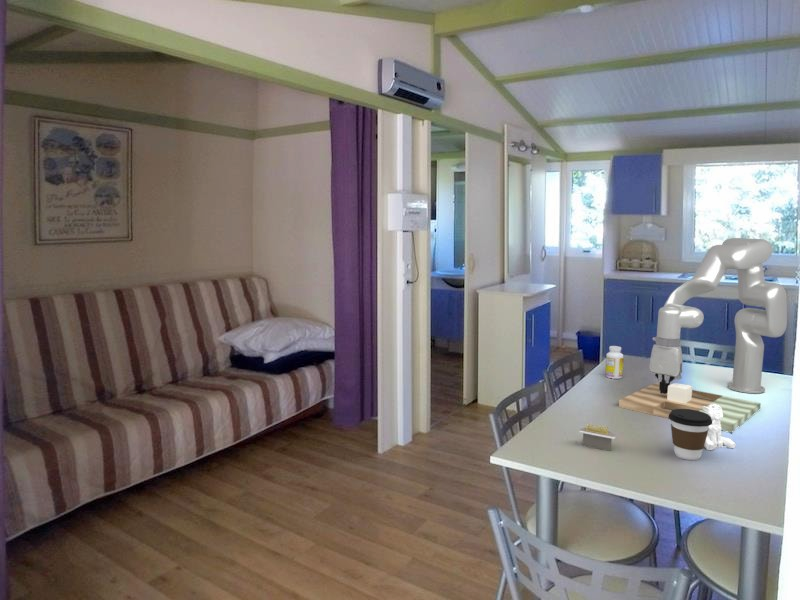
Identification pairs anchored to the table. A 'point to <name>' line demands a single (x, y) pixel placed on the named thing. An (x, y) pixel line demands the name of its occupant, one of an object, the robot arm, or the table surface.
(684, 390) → the block
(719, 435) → the white creature statuette
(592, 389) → the table surface
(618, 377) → the supplement bottle
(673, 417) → the coffee cup
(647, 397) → the board
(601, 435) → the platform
